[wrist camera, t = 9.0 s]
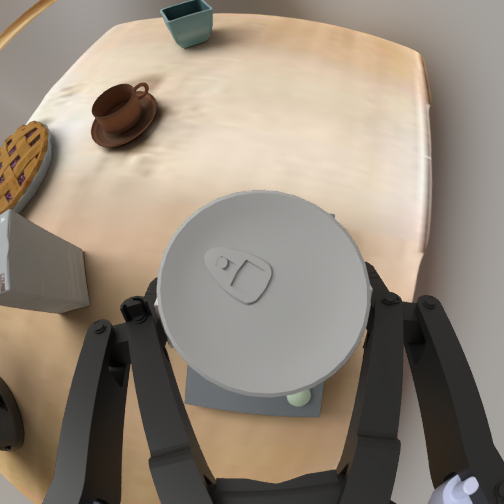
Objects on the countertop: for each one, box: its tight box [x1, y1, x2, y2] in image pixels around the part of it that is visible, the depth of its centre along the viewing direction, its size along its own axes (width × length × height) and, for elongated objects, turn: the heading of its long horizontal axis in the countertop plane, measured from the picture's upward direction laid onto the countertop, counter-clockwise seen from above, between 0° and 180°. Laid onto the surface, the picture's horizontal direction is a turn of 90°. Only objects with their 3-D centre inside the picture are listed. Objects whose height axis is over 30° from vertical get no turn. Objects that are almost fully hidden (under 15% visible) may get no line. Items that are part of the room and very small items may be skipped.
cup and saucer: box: [91, 83, 157, 147], centre depth 37 cm, size 12×12×6 cm
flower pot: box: [160, 0, 213, 48], centre depth 41 cm, size 9×9×9 cm
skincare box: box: [0, 209, 90, 314], centre depth 25 cm, size 8×7×16 cm
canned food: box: [157, 190, 371, 398], centre depth 15 cm, size 8×8×11 cm
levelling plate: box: [185, 214, 335, 417], centre depth 29 cm, size 14×22×3 cm, turn 174°
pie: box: [0, 121, 52, 215], centre depth 37 cm, size 22×22×5 cm
